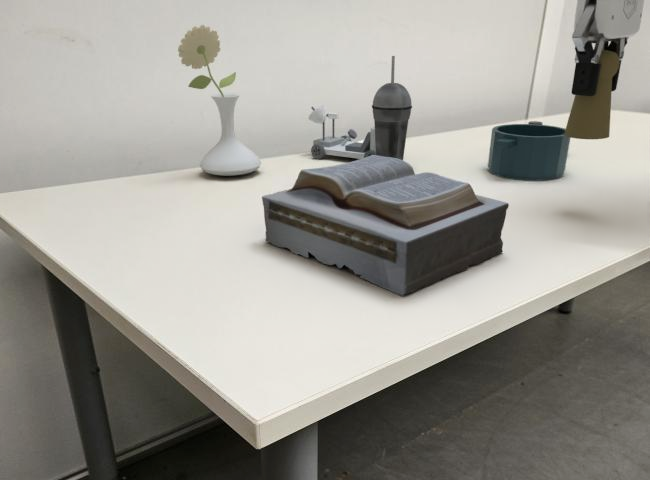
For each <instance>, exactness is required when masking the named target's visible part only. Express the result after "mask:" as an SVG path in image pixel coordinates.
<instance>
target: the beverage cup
mask: <svg viewBox="0 0 650 480" xmlns="http://www.w3.org/2000/svg"><path fill="white" fill-rule="evenodd" d="M395 60H396V55H392V56H391V68H390V71H391V72H390V82H387V83H385V84H383V85H382V86H380V87H379V88H378V90H377V91H376V92H375V94H374V97H373V100H372V105H371V109H372V116H373V121H374V127H375V143H376V155H377V156H383V157H391V158H397V159H400V160H403V161H404V157H405V156H404V155H405V149H406V148H405V147H406V141H407V134H408V126H409V121H410V117H411V114H412V113H411V112H412V109H413V105H412V98H411V95H410V93H409V90H408V89H407V88H406V87H405V86H404V85H403V84H401V83H399V82H395V66H396V65H395V64H396V63H395V62H396V61H395Z"/></svg>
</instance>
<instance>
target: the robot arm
mask: <svg viewBox="0 0 650 480" xmlns="http://www.w3.org/2000/svg"><path fill="white" fill-rule="evenodd" d="M644 3H645V0H577V2H576V7H575V14H574V23H573V33H572V35H571V39H572V41H573V44H574V51H575V57H574V63H575V65H574V66H575V68H574V73H573V80H572V86H571V94H572V95H573V96H575V95H582V96H594V95H595V94H596V91H597V85H598V79H599V74H600V68H601V64H600V63H598V61H599V58H600V54H601V51H602V50H607V51H612V52H615V53H617V54H618V56H619V68H618V70H617V73H616V74H615V75H614V76H613V77H612V92H615V91H616V89H617V88H618V87H617V86H618V81H619V78H620V77H619V76H620V70H621V65H622V60H623V59H624V55H625V47H626V46H627V44H628V40H629V39H630V37H634V36H635V35H636V34H637V33H638V32H639V31H640V27H641V23H642V16H643V10H644ZM593 44H595V45H594V47H593Z"/></svg>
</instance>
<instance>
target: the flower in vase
mask: <svg viewBox="0 0 650 480" xmlns="http://www.w3.org/2000/svg"><path fill="white" fill-rule="evenodd" d="M180 43H181V44H180V45H178V48H177V52H178V57H179V58H181V64H182V65H185V66H186V67H190V66H191V68H192V69H193V70H194V69H195V70H198V69H199V70H200V69H203V67H207V71H208V75H209V76H207V75H204V74H199V75H197V76H196V77H194V78H193V79H192V80H191V81H190V83H189V84H188V88H192V89H197V90H204V89H206V88H207V87H208V86H210V83H211V82H212V83H213V84H214V86H215V88H217V90H218V93H215V94H211V95H210V97H211V98H212V100H213V101H214V102H215V104H216V106H217V109H218V113H219V117H220V125H221V135H220V138H219V140H218V142H217V143H216V144H215V145H214V146H212V148H211V149H210V150H209V151H207V153H206V154H205V155H203V157H202V158H201V160H200V161H199V167H200V169H201V170H202V171H203V172H205V173H208V174H210V175H214V176H223V177H225V176H226V177H228V176H229V177H231V176H232V177H234V176H241V175H246V174H250V173H253V172H254V171H257V170H258V169H259V168H260V167H261V165H262V162H261V159H260V157H259V156H258V155H257V154H256V153H255V152H253V151H252V150H251V149H250V148H248V147H247V146H245V145H244V144H243V143H242V142H241V141H240V140H239V139H238V137H237V135H236V132H235V125H234V123H235V121H234V118H235V117H234V116H235V107H236V103H237V101H238V99H239V98H240V94H239V93H223V91H222V90H221V89H223V88H226V87H228V86H231V85H233V83H234V82H235V80H236V77H237V71H234V72H233V73H232V74H230V75H228V76H226V77H223V78H222V79H220V81H219V83H217V82H216V81H215V80H214V77H213V76H212V73H211V69H210V65H209V64H213V63H214V62H215V61H216V59H215V58H217V57H218V55H219V53H220V51H221V47H220V45H221V44H220V43H221V41H220V40H219V34H218V31H217V30H214V29H213V30H211V27H210V26H205V25H204V24H201V25H200V26H199V27H197V26H195V25H194V26H193V27H192V29H191V30H187V32H186V33H185V34H184V37H183V38H181V40H180ZM218 84H219V85H218Z"/></svg>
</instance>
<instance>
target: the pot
mask: <svg viewBox="0 0 650 480" xmlns="http://www.w3.org/2000/svg"><path fill="white" fill-rule="evenodd" d="M565 130H566V127H560V126H555V125H548V124H542V125H536V124H528V123H511V124H509V123H508V124H501V125H495V126H494V127H492V129H491V136H490V143H489V144H490V145H489V152H488V159H487V162H488V163H487V171H488V172H489V173H490V174H492V175H494V176H497V177H500V178H505V179H511V180H518V181H532V182H533V181H535V182H536V181H537V182H538V181H539V182H540V181H550V180H551V181H552V180H556V179H560V178H563V176H564V175H565V171H566V167H567V161H568V155H569V150H570V143H571V139H572V138H571V137H567V136H565V135H564V133H565Z"/></svg>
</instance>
